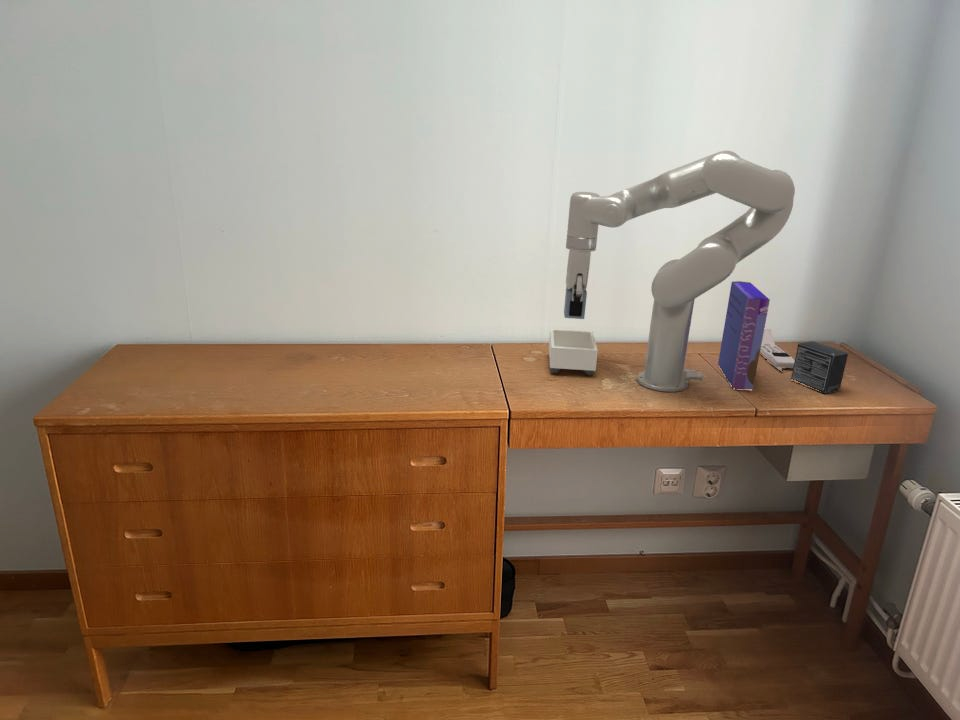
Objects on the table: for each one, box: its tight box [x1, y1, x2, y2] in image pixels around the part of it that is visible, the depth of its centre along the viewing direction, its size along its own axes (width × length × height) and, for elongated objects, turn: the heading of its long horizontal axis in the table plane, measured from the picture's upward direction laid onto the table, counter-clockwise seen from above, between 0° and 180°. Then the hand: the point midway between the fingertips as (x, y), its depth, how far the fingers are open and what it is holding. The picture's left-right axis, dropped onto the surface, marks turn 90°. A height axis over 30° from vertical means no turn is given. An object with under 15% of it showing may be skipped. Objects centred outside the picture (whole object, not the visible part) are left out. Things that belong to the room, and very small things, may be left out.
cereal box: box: [717, 280, 771, 390], centre depth 179 cm, size 17×5×24 cm, turn 174°
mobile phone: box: [760, 327, 795, 370], centre depth 199 cm, size 6×6×25 cm
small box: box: [790, 340, 849, 395], centre depth 178 cm, size 11×6×10 cm, turn 29°
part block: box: [563, 286, 588, 320], centre depth 179 cm, size 5×5×7 cm
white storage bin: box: [548, 328, 599, 376], centre depth 184 cm, size 12×16×7 cm
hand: (574, 312), depth 180 cm, fingers closed on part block, 5 cm apart
